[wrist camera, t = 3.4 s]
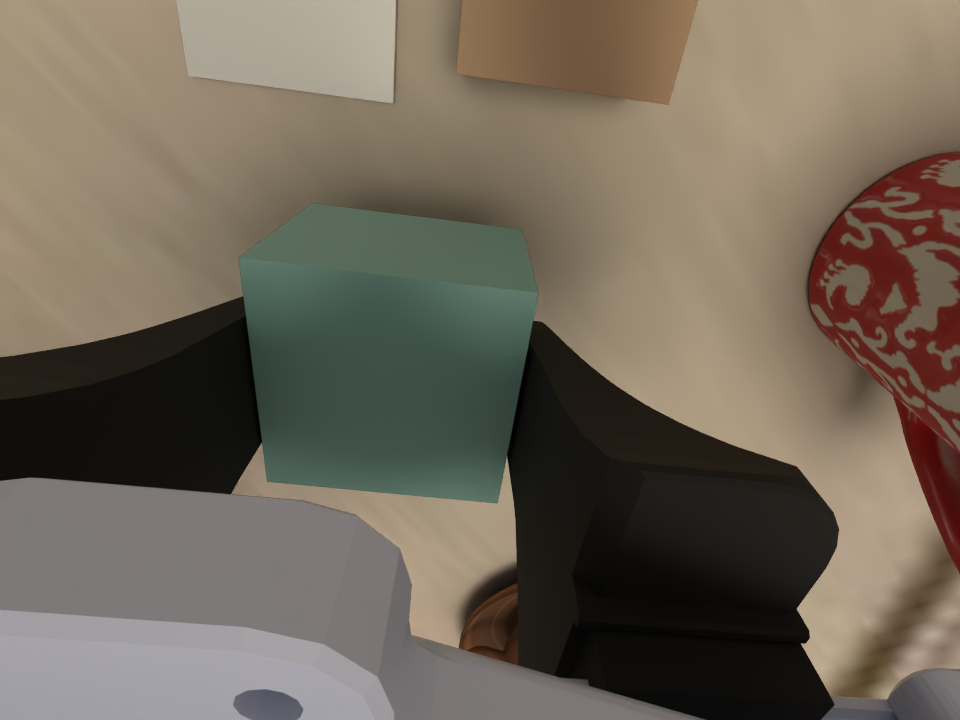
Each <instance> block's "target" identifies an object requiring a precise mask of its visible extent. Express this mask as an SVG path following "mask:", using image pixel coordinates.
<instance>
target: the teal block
mask: <svg viewBox="0 0 960 720" xmlns="http://www.w3.org/2000/svg"><path fill="white" fill-rule="evenodd" d="M239 265H240V273H241V281H242V289H243V297H244V305H245V312H246V320H247V328H248V336H249V344H250V351H251V359H252V367H253V375H254V383H255V390H256V398H257V406H258V414H259V422H260V429H261V437H262V445H263V453H264V461H265V468H266V476H267V482H276V483H287V484H297V485H308V486H318V487H329V488H339V489H350V490H361V491H371V492H382V493H392V494H403V495H413V496H424V497H434V498H445V499H456V500H466V501H477V502H487V503H498V499H499V494H500V489H501V484H502V478H503V473H504V468H505V463H506V458H507V453H508V448H509V442H510V437H511V432H512V427H513V422H514V417H515V411H516V406H517V401H518V396H519V391H520V386H521V381H522V375H523V370H524V365H525V360H526V355H527V350H528V344H529V339H530V334H531V329H532V324H533V319H534V314H535V308H536V303H537V298H538V289H537V285H536V281H535V277H534V273H533V269H532V265H531V261H530V257H529V253H528V249H527V244H526V240H525V236H524V232H523V230H522V229H514V228H506V227H498V226H490V225H482V224H474V223H466V222H458V221H450V220H442V219H434V218H426V217H418V216H410V215H402V214H394V213H386V212H378V211H370V210H362V209H354V208H346V207H338V206H330V205H322V204H314V203H312V204H311V205H310V206H308V207H307V208H306V209H304V210H303V211H301V212H300V213H299V214H297V215H296V216H295V217H293V218H292V219H291V220H289V221H288V222H286V223H285V224H284V225H282V226H281V227H280V228H278V229H277V230H276V231H274V232H273V233H271V234H270V235H269V236H267V237H266V238H265V239H263V240H262V241H261V242H259V243H258V244H256V245H255V246H254V247H252V248H251V249H250V250H248V251H247V252H246V253H244V254H243V255H242V256H240V257H239Z"/></svg>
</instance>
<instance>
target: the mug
mask: <svg viewBox="0 0 960 720" xmlns="http://www.w3.org/2000/svg"><path fill="white" fill-rule="evenodd" d="M809 302H810V306H811V310H812V314H813V317H814V319H815V320H816V322H817V325H818V327H819V328H820V329H821V330H822V332H823V333H824V334H825V335H826V336H827V337H828V338H829V339H830V340H831V341H832V342H833V343H834V344H835V345H836V346H837V347H838V348H839V349H841V350H842V351H843V352H844V353H845V354H847V355H848V356H849V357H850V358H851V359H853V360H854V361H855V362H856V363H857V364H858V365H859V366H861V367H862V368H863V369H864V370H865V371H866V372H868V373H869V374H870V375H871V376H872V377H873V378H874V379H876V380H877V381H878V382H879V383H880V384H881V385H882V386H883V387H884V388H885V389H887V390H888V391H889V392H890V393H891V394H892V395H893V396H894V400H895V403H896V406H897V409H898V412H899V416H900V419H901V424H902V429H903V433H904V436H905V440H906V444H907V447H908V450H909V453H910V456H911V459H912V462H913V465H914V468H915V470H916V473H917V476H918V479H919V482H920V484H921V487H922V490H923V493H924V495H925V498H926V500H927V503H928V505H929V508H930V510H931V513H932V515H933V518H934V520H935V522H936V525H937V527H938V529H939V531H940V534H941V536H942V538H943V541H944V543H945V545H946V548H947V550H948V552H949V554H950V556H951V558H952V560H953V562H954V564H955V566H956V567H957V569H958V571H959V573H960V152H953V153H947V154H941V155H936V156H932V157H928V158H925V159H922V160H920V161H917V162H914V163H912V164H909V165H907V166H905V167H903V168H901V169H899V170H897V171H895V172H894V173H892V174H891V175H889V176H887V177H886V178H884V179H882V180H881V181H879V182H877V183H876V184H874V185H873V186H872V187H871V188H870V189H868V190H866V191H865V192H864V193H863V194H862V195H861V196H860V197H859V198H858V199H857V200H855V201H854V202H853V203H852V204H851V205H850V206H849V207H848V208H847V209H846V211H845V212H844V213H843V214H842V215H841V216H840V217H839V218H838V220H837V221H836V222H835V224H834V225H833V226H832V228H831V229H830V231H829V232H828V234H827V236H826V237H825V239H824V241H823V243H822V245H821V247H820V249H819V251H818V254H817V256H816V258H815V260H814V263H813V267H812V271H811V275H810V282H809Z"/></svg>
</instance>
